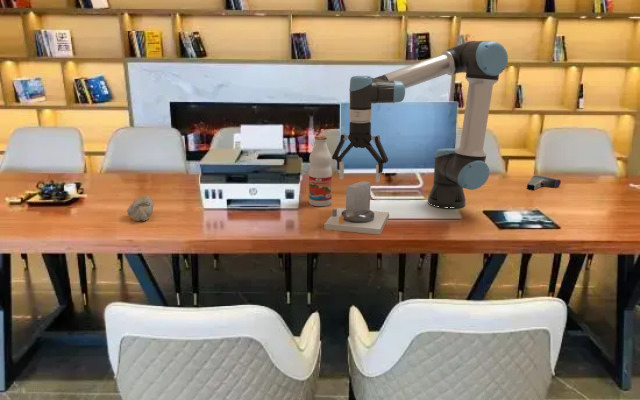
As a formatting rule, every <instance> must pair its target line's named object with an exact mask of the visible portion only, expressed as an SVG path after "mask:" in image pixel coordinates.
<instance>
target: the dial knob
mask: <svg viewBox="0 0 640 400" xmlns="http://www.w3.org/2000/svg"><path fill="white" fill-rule="evenodd" d="M371 183H372V182H370V181H366V180H361V181H359V182H356V183H352V184H349V185H346V188H345V193H346V194H345V209H346V210H344V211H342V216H344V220H346V221H350V222H368V221H371V220H373V219H374V212H373V211H374V210H371V187H372V185H371Z"/></svg>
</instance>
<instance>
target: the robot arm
mask: <svg viewBox="0 0 640 400" xmlns="http://www.w3.org/2000/svg"><path fill="white" fill-rule="evenodd" d="M508 61H509V56H508V52H507V49H506V48H505V47H504V46H503V45H502V44H501V43H500V42H498V41H492V40H470V41H467V42H464V43H461V44H459V45H455V46H453V47H451V48H448V49H445V50H443V51H442V52H441V53H440V54H438V55H436V56H434V57H431V58H428V59H425V60H422V61H418V62H415V63H413V64H410V65H407V66H405V67H402V68H399V69H396V70H392V71H391V72H388V73H387V72H386V74H382V75H379V76H377V77H372V76H370V75H353V76H352V77H350V80H349V89H348V91H349V121H350V122H349V125H348V126H349V129H348V130H349V134H347V133H342V134H341V135H340V138H339V139H340V140H339V141H338V144H337V146H336V148H335V150H334V152H333V154H332V160H335V161H336V169H337V170H338V171H339V176H338V177H339V180H343V179H344V177H345V160H343V159H344V157H345V156H346V155H347V154H348V153H349V152H350V151H351V149H352V148H353V147H354V148H355V149H359V148H360V149H366V150H367V151H368V152H369V154H370V155H371V156H372V157H373V158H374V160H375V161H376V162H377V163H376V165H375V183H377V184H378V183H380V181H381V174H382V173H383V172H384V164H386V163H387V162H389V158H388V156H387V154H386V151H385V149H384V147H383V144H382V143H381V137H380V135H375V136H372V122H371V121H372V104H395V103H402V102H403V101H404V99H405V95H406V89H408V88H411V87H414V86H417V85H420V84H422V83H425V82H428V81H431V80H433V79H436V78H437V79H438V78H439V77H442V76H445V75H448V76H453V75H457V74H464V73H465V80H466V81H467V82H468V87H467V88H468V89H467V95H466V101H465V109H464V116H463V120H462V128H461V129H462V130H461V136H460V142H459V147H457V148H455V147H454V148H449V147H448V148H447V147H446V148H439V149H437V150H436V151H435V154H434V168H433V182H432V183H433V184H432V187H431V189H430V192H429V194H428V197H427V203H428V202H429V203H430V204H432V205H435V206H439V207H448V208H450V207H455V208H454V209H460V208H464V207H465V206H466V195H465V192H464V189H467V190H471V191H472V190H477V189H480V188H482V186H484V185H485V184H486V183H487V182H488V180H489V177H490V173H491V172H490V167H489V166H488V164H487V163H486V158H487V153H486V152H485V151H484V144H485V139H486V132H487V126H488V120H489V114H490V113H489V112H490V107H491V101H492V94H493V89H494V85H495V84H497V83H498V81H499V79H500V74H502V73H503V72H504V71H505V70H506V68H507V65H508ZM347 140H348V141H349V142H350V143H348V145H347V147H345V149H344V150H343V151H342V152H341V150H342V148H343V146H344V144H345V142H346V141H347ZM371 141H372V142H373V143H374V144H375V147H376V149H377V150H376V149H375V148H374V147H373V145H372V144H371ZM377 151H378V152H377ZM340 152H341V153H340ZM429 203H428V204H429ZM430 204H429V205H430ZM432 205H431V206H432ZM435 206H434V207H435ZM439 207H438V208H439ZM448 208H447V209H448Z"/></svg>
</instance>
